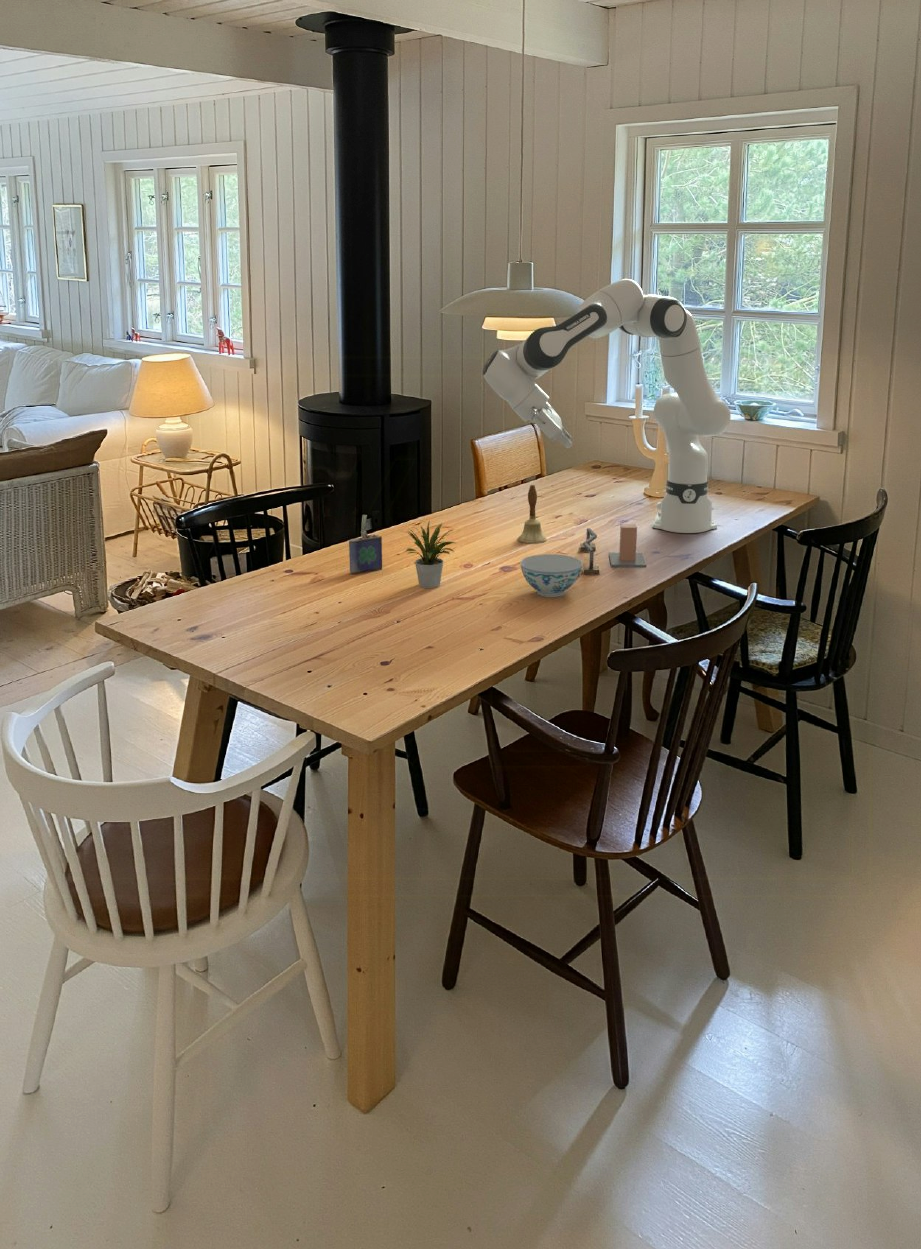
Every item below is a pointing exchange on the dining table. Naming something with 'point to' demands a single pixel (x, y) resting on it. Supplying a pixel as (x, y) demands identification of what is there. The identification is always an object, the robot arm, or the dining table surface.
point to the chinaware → (551, 573)
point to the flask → (365, 553)
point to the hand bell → (532, 522)
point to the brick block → (628, 542)
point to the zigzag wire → (591, 548)
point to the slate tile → (617, 563)
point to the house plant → (429, 558)
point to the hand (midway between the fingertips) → (570, 443)
